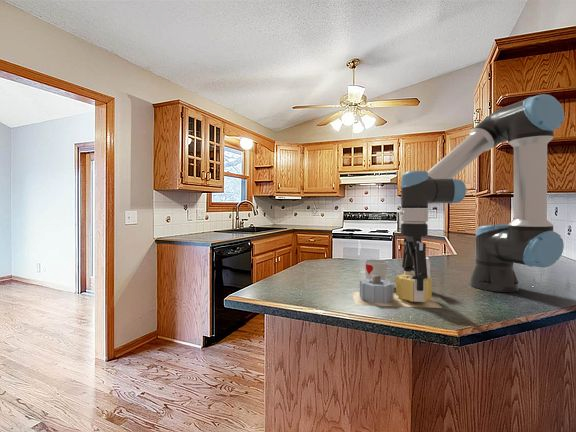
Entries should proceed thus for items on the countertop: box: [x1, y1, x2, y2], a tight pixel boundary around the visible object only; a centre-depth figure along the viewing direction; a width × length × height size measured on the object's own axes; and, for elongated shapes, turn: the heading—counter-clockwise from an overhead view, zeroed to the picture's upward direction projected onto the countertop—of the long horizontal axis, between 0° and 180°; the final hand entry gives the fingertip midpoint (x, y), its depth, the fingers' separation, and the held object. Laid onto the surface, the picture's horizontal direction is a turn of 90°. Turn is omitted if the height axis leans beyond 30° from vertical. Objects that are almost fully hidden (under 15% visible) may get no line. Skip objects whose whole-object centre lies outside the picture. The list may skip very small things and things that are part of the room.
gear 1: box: [359, 278, 395, 303], centre depth 95 cm, size 10×10×5 cm
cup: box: [364, 259, 389, 281], centre depth 112 cm, size 8×8×10 cm
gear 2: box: [395, 273, 433, 302], centre depth 94 cm, size 10×10×6 cm
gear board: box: [350, 275, 443, 309], centre depth 94 cm, size 24×14×8 cm, turn 84°
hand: (413, 296), depth 94 cm, fingers closed on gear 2, 10 cm apart
